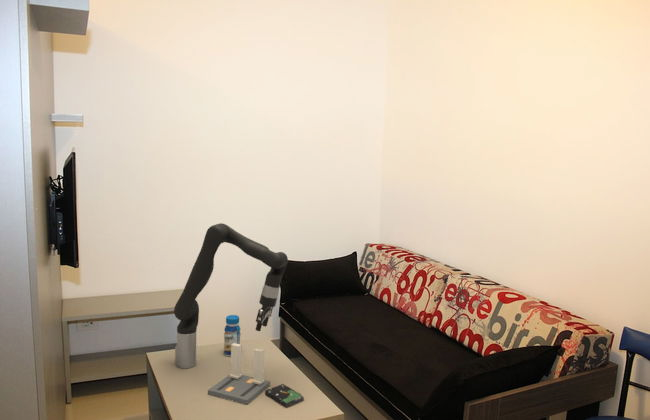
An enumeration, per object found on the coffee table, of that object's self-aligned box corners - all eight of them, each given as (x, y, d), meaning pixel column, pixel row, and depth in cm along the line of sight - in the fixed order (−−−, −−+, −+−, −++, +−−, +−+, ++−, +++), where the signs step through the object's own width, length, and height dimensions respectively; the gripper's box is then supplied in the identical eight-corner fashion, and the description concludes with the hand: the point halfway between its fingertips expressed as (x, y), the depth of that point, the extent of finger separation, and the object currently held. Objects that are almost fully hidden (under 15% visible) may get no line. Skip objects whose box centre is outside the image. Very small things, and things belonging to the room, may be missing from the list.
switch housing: (207, 394, 231) (207, 389, 231) (233, 376, 249) (233, 372, 249) (247, 404, 223) (247, 400, 223) (270, 385, 241) (270, 381, 241)
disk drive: (264, 396, 233) (285, 409, 222) (264, 390, 232) (286, 402, 222) (282, 389, 240) (304, 401, 229) (282, 383, 239) (304, 395, 229)
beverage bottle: (243, 354, 275) (244, 317, 273) (230, 358, 269) (230, 320, 266) (233, 349, 281) (234, 313, 278) (220, 353, 275) (221, 316, 272)
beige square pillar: (229, 377, 243) (230, 345, 241) (233, 374, 246) (234, 342, 244) (237, 379, 241) (238, 347, 239) (241, 376, 244) (242, 344, 242)
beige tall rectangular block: (251, 382, 238) (252, 350, 236) (256, 379, 241) (256, 347, 239) (260, 384, 237) (261, 352, 235) (264, 381, 240) (265, 349, 238)
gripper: (267, 289, 248) (258, 322, 249) (256, 295, 234) (247, 329, 235) (281, 294, 246) (273, 327, 248) (272, 300, 232) (263, 335, 234)
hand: (261, 328), depth 241 cm, fingers open, 8 cm apart
